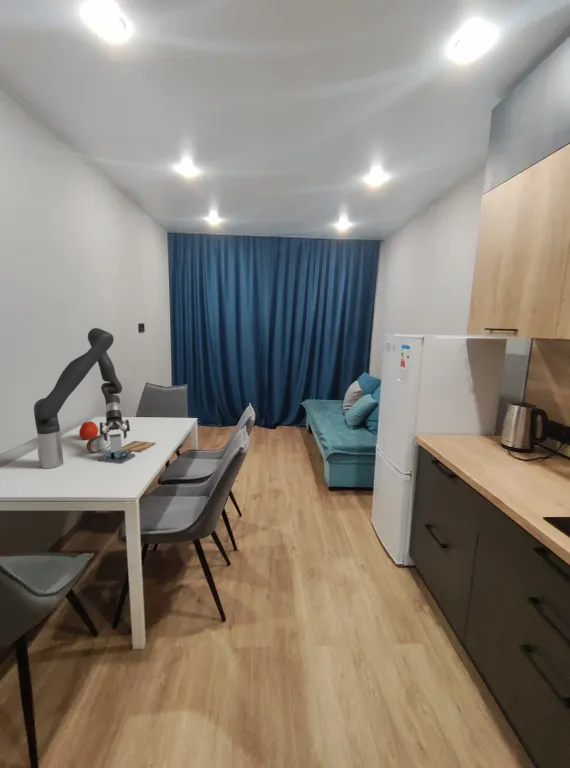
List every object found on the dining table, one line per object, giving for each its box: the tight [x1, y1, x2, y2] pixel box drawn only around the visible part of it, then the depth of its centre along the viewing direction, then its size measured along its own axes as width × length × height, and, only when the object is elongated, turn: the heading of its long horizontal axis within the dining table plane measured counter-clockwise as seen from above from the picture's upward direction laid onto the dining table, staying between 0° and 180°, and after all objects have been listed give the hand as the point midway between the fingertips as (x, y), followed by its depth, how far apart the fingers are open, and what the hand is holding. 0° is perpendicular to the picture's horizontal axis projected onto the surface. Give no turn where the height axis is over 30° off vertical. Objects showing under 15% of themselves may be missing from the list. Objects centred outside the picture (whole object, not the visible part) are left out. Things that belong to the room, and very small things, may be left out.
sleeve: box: [109, 433, 123, 453], centre depth 179 cm, size 5×5×8 cm
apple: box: [78, 420, 99, 440], centre depth 213 cm, size 10×10×10 cm
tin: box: [86, 433, 111, 453], centre depth 193 cm, size 15×3×8 cm, turn 160°
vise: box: [97, 448, 136, 464], centre depth 180 cm, size 14×10×11 cm
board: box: [122, 440, 156, 453], centre depth 198 cm, size 14×14×1 cm
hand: (115, 439), depth 180 cm, fingers open, 8 cm apart
